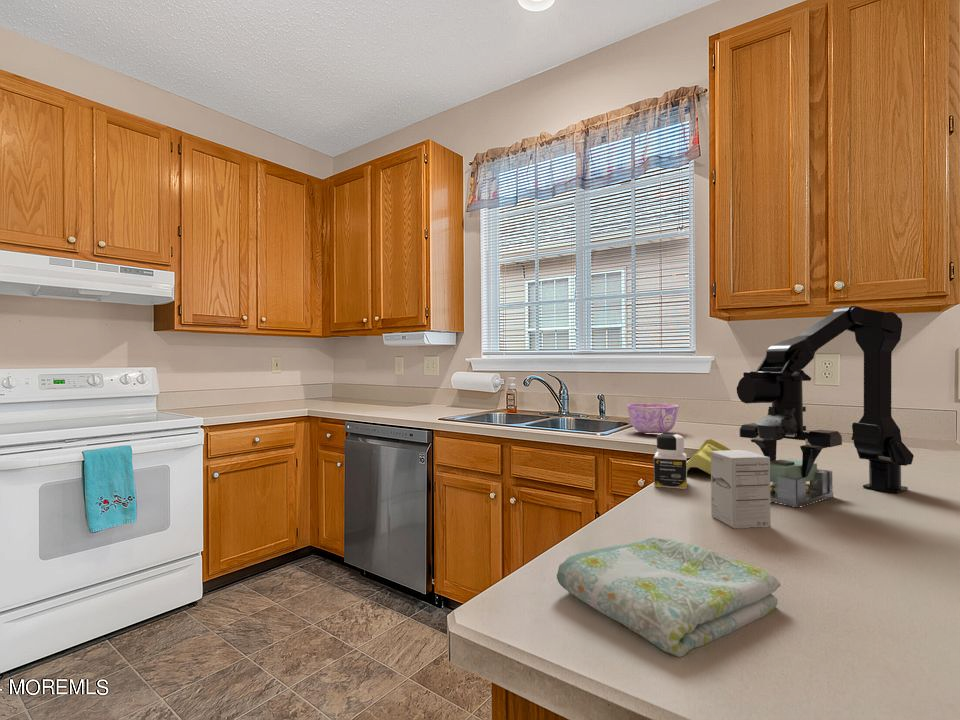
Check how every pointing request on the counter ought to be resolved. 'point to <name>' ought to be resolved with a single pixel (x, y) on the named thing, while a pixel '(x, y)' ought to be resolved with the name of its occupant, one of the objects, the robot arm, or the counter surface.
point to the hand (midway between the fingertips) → (788, 474)
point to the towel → (670, 590)
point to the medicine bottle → (670, 462)
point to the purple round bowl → (653, 417)
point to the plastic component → (705, 455)
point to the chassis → (802, 489)
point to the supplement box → (740, 488)
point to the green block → (790, 470)
